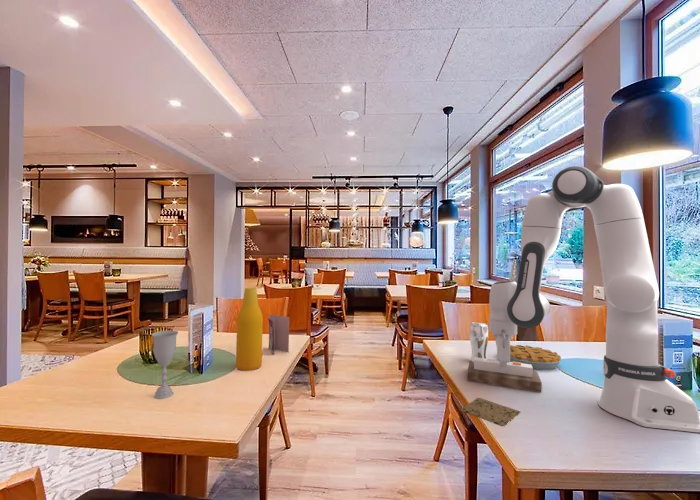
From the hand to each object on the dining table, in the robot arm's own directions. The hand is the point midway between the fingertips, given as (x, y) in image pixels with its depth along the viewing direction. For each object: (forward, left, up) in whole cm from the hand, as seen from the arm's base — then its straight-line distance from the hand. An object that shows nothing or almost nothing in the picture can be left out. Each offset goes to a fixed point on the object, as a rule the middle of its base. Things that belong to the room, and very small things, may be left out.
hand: (502, 368), depth 113 cm
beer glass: (+8, -18, -4) cm, 20 cm away
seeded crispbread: (+4, +26, -5) cm, 27 cm away
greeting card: (+88, +6, -4) cm, 88 cm away
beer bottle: (+86, +27, -4) cm, 90 cm away
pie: (-11, -27, -4) cm, 30 cm away
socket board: (0, 0, -4) cm, 4 cm away
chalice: (+92, +57, -4) cm, 108 cm away
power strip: (0, 0, -4) cm, 4 cm away
